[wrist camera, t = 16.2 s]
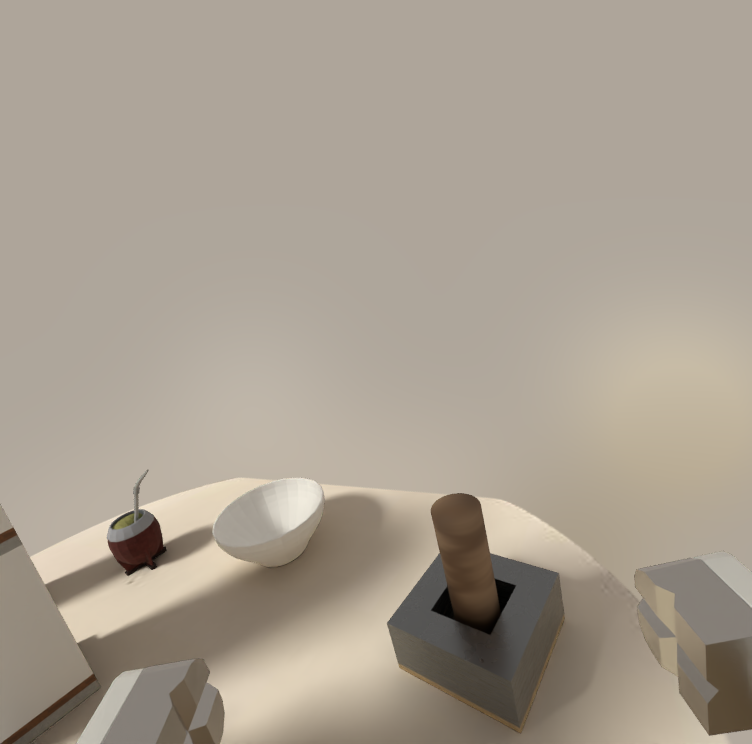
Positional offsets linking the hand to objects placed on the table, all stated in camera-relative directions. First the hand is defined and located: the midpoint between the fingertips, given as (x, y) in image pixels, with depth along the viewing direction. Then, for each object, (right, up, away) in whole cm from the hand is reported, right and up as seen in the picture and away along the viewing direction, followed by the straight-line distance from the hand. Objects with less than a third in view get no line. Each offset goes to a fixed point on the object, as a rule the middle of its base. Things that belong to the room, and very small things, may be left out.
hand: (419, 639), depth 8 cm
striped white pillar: (-39, -32, +40) cm, 64 cm away
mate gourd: (-36, -25, +61) cm, 76 cm away
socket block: (+10, -22, +35) cm, 42 cm away
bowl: (-14, -21, +57) cm, 62 cm away
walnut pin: (+10, -21, +35) cm, 42 cm away
